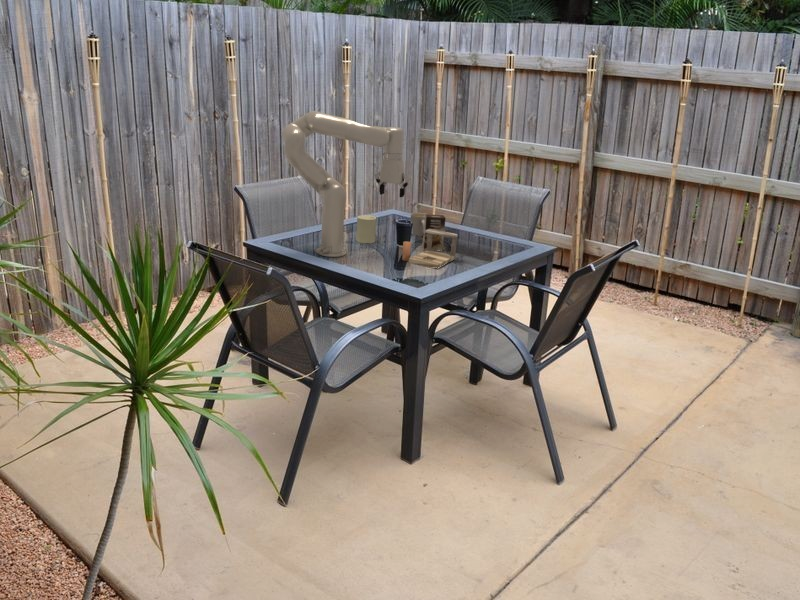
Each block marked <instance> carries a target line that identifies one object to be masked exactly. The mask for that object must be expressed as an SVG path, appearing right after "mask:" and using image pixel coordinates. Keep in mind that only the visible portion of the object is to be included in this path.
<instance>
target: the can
mask: <svg viewBox="0 0 800 600" xmlns="http://www.w3.org/2000/svg"><path fill="white" fill-rule="evenodd" d="M356 218H357V219H356V221H357V222H356V237H355V241H356V242H357V243H360V244H366V243H369V244H374V243H376V230H377V229H376V228H377V217H376V216H374V215H370V214H369V215H368V214H365V215H364V214H362V215H360V214H359V215H358V216H357V217H356Z"/></svg>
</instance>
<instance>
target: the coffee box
mask: <svg viewBox="0 0 800 600" xmlns="http://www.w3.org/2000/svg"><path fill="white" fill-rule="evenodd" d="M445 226H446V217H445V215H443V214H442V215H441V214H431V213H426V214H425V220H424V230H423V237H422V240H421V241H422V242H421V249H422V252H424V251H426V250H427V239H428V233H426V232H425V230H427V229H434V230H439V231H444V232H445ZM444 238H445V236H441V235H436V234H433V236H432V247H431V251H435V252H438V251H437V250H440V251H439V252H441V250H442V251H443V247H444V246H443V245H444Z"/></svg>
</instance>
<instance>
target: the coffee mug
mask: <svg viewBox="0 0 800 600" xmlns="http://www.w3.org/2000/svg"><path fill="white" fill-rule="evenodd" d="M425 214H427V213H425V212H412V213H410V221H409V223H410V222H412V223H413V234H414V235H418V236H423V230H424V220H425Z"/></svg>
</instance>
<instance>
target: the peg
mask: <svg viewBox="0 0 800 600" xmlns="http://www.w3.org/2000/svg"><path fill="white" fill-rule="evenodd" d="M402 243H403V244H402V245H403V246H402V253H401V254H402V257H401V260H402V261H403V262H409V258H411V250H412V249H411V248H412V242H411V241H403V242H402Z"/></svg>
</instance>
